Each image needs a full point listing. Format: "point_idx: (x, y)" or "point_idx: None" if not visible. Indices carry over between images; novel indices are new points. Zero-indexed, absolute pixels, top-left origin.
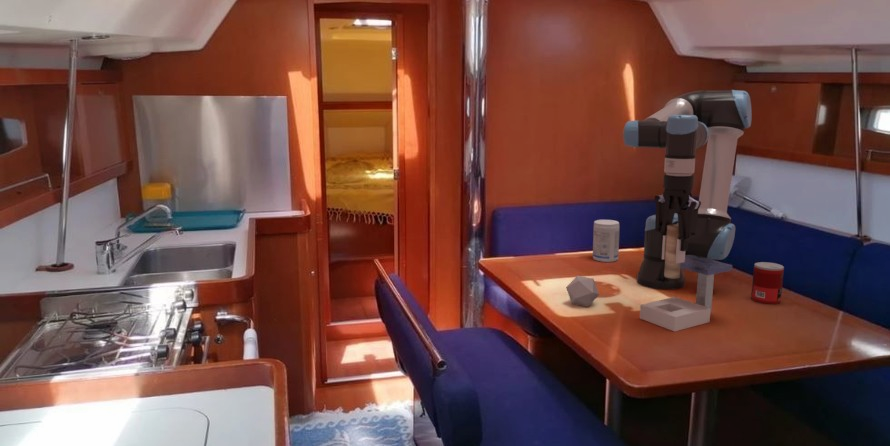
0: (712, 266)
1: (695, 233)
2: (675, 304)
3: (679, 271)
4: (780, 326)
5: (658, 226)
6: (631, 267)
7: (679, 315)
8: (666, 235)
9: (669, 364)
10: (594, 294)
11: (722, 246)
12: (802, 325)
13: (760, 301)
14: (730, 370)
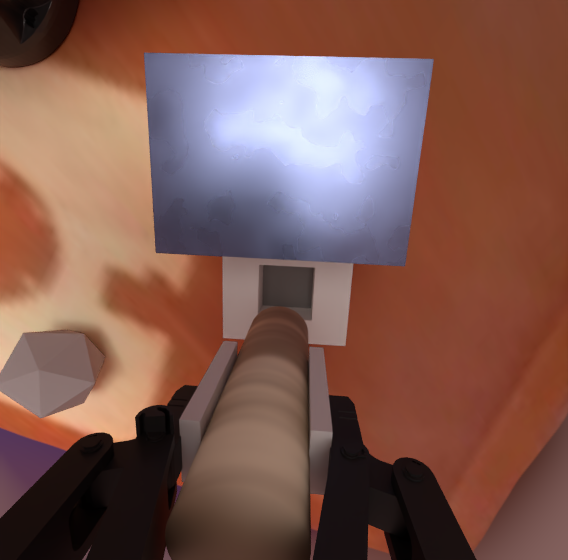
0: (379, 187)
1: (439, 491)
2: None
3: (307, 338)
4: (508, 39)
5: (96, 531)
6: None
7: (344, 327)
8: (188, 459)
9: (443, 474)
10: (92, 364)
11: None
12: None
13: None
14: (542, 414)
